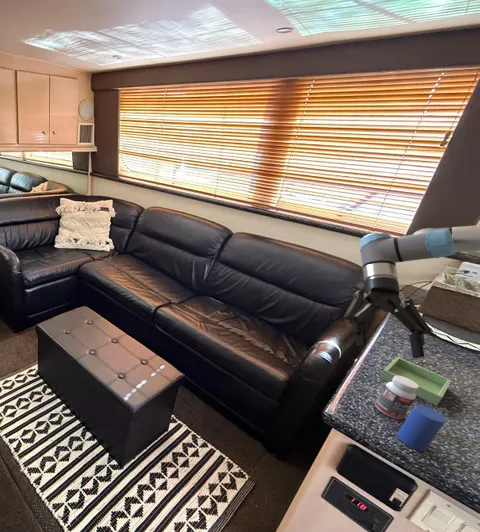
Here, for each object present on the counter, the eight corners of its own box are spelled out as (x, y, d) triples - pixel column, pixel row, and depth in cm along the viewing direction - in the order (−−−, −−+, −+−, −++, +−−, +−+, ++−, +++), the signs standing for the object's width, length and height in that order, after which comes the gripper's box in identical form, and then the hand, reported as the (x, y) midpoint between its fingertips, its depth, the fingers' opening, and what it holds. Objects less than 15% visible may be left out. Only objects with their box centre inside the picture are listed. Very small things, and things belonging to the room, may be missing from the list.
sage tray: (446, 388, 96) (451, 380, 95) (436, 405, 88) (442, 397, 87) (392, 363, 106) (397, 356, 104) (379, 377, 97) (383, 369, 96)
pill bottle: (390, 420, 81) (409, 390, 77) (368, 403, 86) (385, 374, 82) (408, 419, 82) (427, 389, 78) (385, 402, 87) (402, 373, 83)
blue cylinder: (427, 445, 75) (447, 416, 71) (422, 454, 72) (443, 425, 69) (399, 429, 78) (417, 401, 75) (394, 438, 76) (412, 409, 72)
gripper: (418, 293, 96) (430, 364, 88) (326, 278, 101) (330, 343, 93) (441, 284, 89) (456, 360, 81) (342, 268, 94) (347, 337, 86)
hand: (389, 351), depth 87 cm, fingers open, 13 cm apart
